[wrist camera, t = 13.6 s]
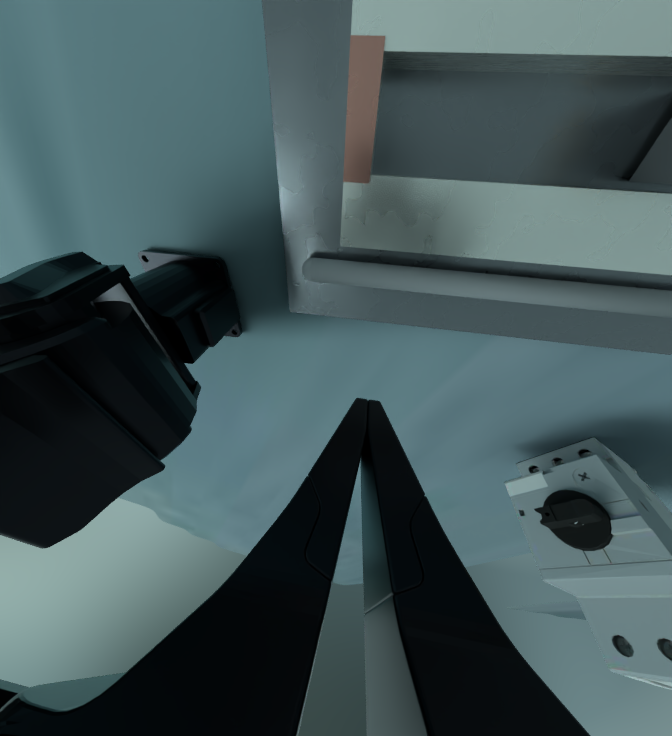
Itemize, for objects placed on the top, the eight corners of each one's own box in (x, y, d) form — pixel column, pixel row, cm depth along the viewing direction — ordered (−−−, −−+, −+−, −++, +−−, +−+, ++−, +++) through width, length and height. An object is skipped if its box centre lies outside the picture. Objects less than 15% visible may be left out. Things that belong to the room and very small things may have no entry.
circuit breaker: (556, 407, 21) (755, 679, 10) (634, 469, 25) (843, 717, 14) (480, 441, 26) (558, 655, 14) (556, 488, 30) (665, 688, 18)
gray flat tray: (305, 275, 16) (299, 283, 15) (284, -246, 7) (266, -325, 6) (691, 314, 14) (716, 326, 13) (1432, -345, 5) (1738, -495, 4)
